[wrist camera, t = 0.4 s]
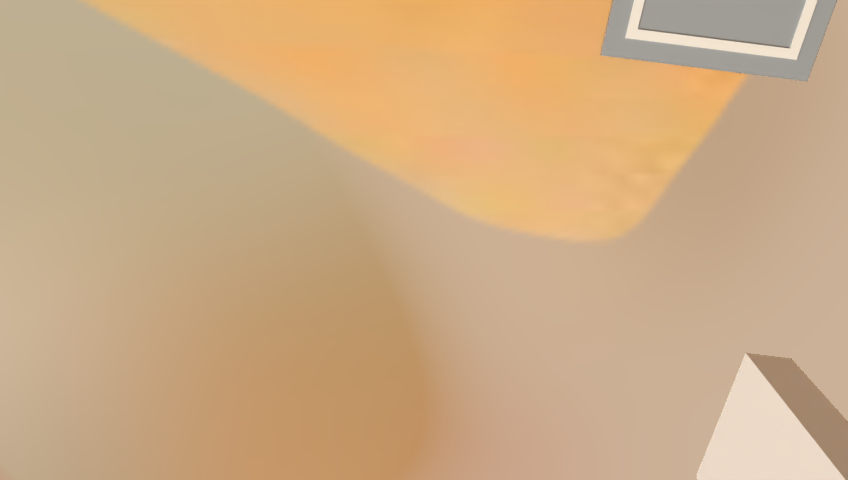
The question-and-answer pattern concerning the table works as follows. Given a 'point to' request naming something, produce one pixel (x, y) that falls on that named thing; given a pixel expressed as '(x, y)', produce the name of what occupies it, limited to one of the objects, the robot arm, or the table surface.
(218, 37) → the table surface
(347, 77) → the table surface
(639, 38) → the marked card
